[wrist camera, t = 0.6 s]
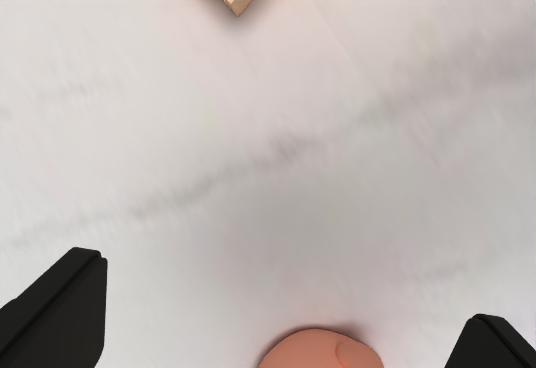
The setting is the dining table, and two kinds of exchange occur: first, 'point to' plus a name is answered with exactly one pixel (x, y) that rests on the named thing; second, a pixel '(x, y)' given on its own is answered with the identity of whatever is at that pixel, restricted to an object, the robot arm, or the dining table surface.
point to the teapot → (320, 352)
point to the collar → (237, 5)
